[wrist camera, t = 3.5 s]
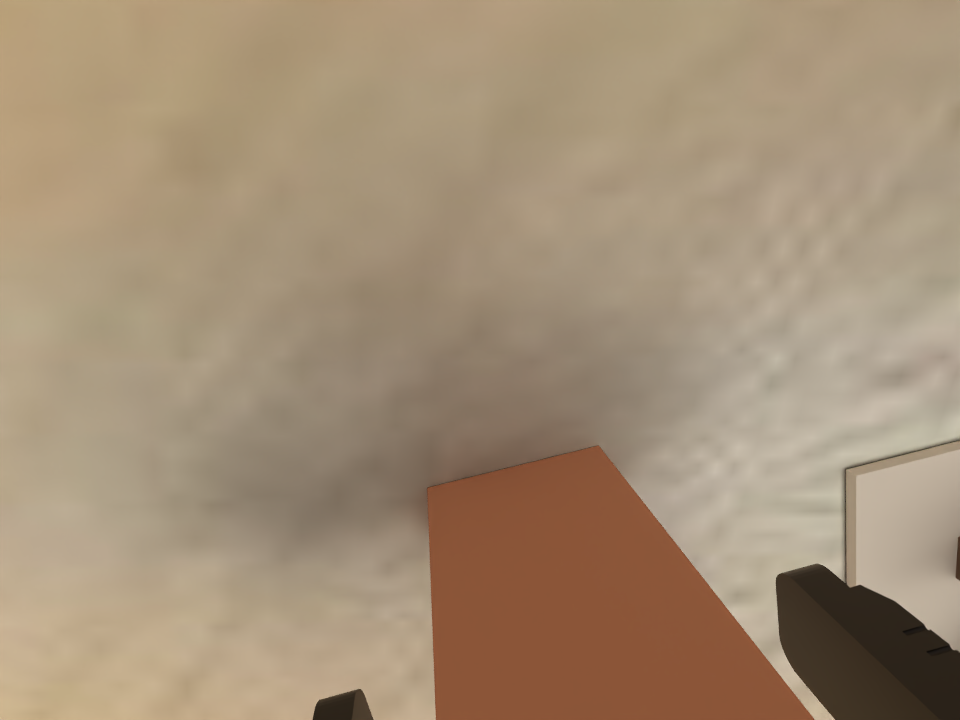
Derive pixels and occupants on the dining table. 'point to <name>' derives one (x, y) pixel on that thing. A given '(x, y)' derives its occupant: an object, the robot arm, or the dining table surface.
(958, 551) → the domino
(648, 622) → the domino
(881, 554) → the mat
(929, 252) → the dining table surface
